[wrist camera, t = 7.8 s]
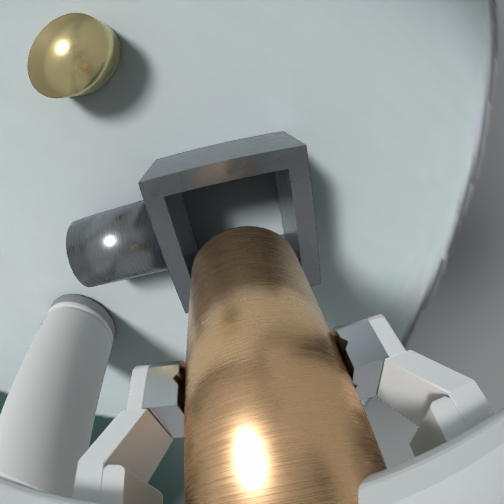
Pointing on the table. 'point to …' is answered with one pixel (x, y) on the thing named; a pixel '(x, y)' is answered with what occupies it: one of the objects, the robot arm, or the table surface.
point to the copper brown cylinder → (267, 383)
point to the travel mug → (56, 397)
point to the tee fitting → (176, 217)
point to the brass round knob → (73, 56)
